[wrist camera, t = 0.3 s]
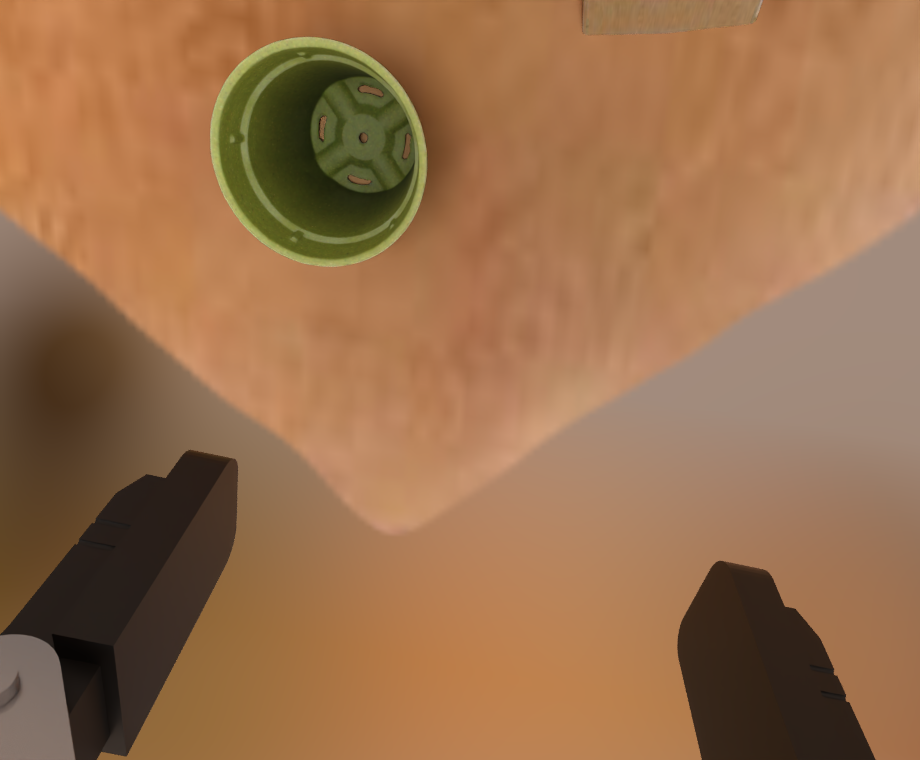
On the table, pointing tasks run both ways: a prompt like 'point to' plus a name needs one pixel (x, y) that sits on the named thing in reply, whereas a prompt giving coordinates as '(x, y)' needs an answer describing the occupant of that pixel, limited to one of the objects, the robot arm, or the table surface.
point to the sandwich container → (664, 15)
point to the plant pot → (318, 151)
